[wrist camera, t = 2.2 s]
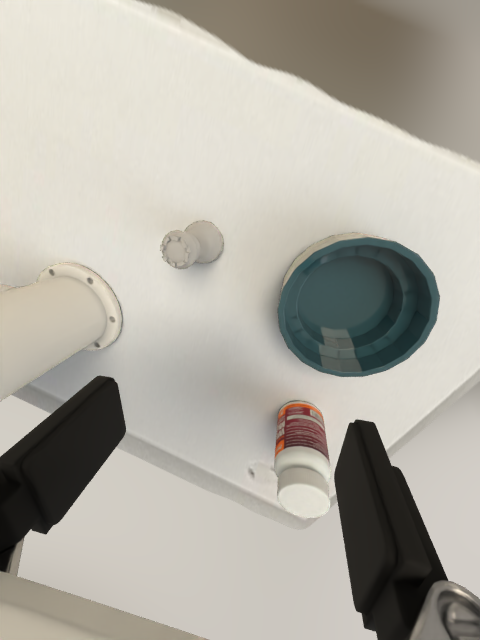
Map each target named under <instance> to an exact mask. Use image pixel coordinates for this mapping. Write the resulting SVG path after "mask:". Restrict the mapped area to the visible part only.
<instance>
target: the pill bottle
mask: <svg viewBox="0 0 480 640" xmlns="http://www.w3.org/2000/svg"><path fill="white" fill-rule="evenodd" d="M274 468H275V472H276V475H277V477H278V492H277V497H278V501H279V503H280V505H281V506H282V507H283V508H284V509H285V510H286V511H288V512H289V513H291V514H294V515H296V516H300V517H305V518H314V517H319V516H322V515H324V514H325V513H326V512H327V511H328V510H329V508H330V496H329V486H328V482H329V480H330V477H331V468H330V462H329V455H328V448H327V441H326V434H325V427H324V420H323V416H322V414H321V412H320V410H319V409H318V408H317V407H315V406H314V405H312V404H310V403H307V402H303V401H294V402H289V403H287V404H285V405H284V406H283V407H282V408H281V409H280V411H279V414H278V421H277V435H276V448H275V462H274Z"/></svg>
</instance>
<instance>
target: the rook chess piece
mask: <svg viewBox="0 0 480 640" xmlns="http://www.w3.org/2000/svg"><path fill="white" fill-rule="evenodd" d="M223 244H224V243H223V237H222V234H221V232H220V231H219V229H218V228H217V227H216V226H215V225H214V224H212V223H211V222H207V221H204V220H203V221H197V222H194V223H192V224H191V225H189V226H188V227H187V228H186V230H185V231H184V232H183V231H179V230H176V231H171V232H169V233H168V234H167V235H165V237H164V239H163V241H162V245H160V251H162V253H163V256H162V258H163V260H164V261H165V262H166V261H167V263H168V264H170V266H172V267H174V268H177V269H187V268H188V267H190V266H191V265H192V264H193V263H194V261H195V262H198V263H209V262H212V261H214V260H215V259H217V258H218V257H219V255H220V254H221V252H222V249H223Z"/></svg>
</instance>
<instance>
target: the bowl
mask: <svg viewBox="0 0 480 640" xmlns="http://www.w3.org/2000/svg"><path fill="white" fill-rule="evenodd" d="M439 301H440V295H439V291H438V288H437V284H436V280H435V276H434V274H433V272H432V271H431V270H430V268H429V267H428V266H427V265H426V263H425V262H424V261H423V260H422V258H421V257H420V256H419V255H418V254H417V253H415V252H413V251H411V250H410V249H408V248H406V247H404V246H403V245H401V244H399V243H397V242H395V241H392V240H388V239H385V238H381V237H378V236H373V235H367V234H361V233H347V234H339V235H332V236H330V237H328V238H326V239H323V240H321V241H319V242H317V243H315V244H313V245H311V246H310V247H308V248H307V249H306V250H305V251H304V252H303V253H302V254H301V255H299V256H298V257H297V258H296V259H295V260H294V262H293V263H292V265H291V267H290V268H289V270H288V272H287V273H286V275H285V277H284V280H283V285H282V289H281V293H280V299H279V304H278V319H279V329H280V332H281V334H282V336H283V338H284V340H285V342H286V344H287V346H288V348H289V349H290V350H291V351H292V352H293V353H294V354H295V355H296V356H297V357H298V358H299V359H300V360H301V361H302V362H303V363H305V364H307V365H309V366H310V367H312V368H314V369H316V370H318V371H320V372H323V373H327V374H331V375H335V376H340V377H363V376H368V375H372V374H375V373H379V372H383V371H386V370H388V369H390V368H392V367H394V366H396V365H398V364H399V363H401V362H403V361H405V360H407V359H408V358H409V357H410V356H411V355H412V354H413V353H414V352H415V351H416V350H417V349H418V348H420V347H421V346H422V345H423V344H424V343H425V341H426V340H427V338H428V336H429V334H430V332H431V330H432V328H433V327H434V325H435V323H436V321H437V315H438V308H439Z"/></svg>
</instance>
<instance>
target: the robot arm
mask: <svg viewBox="0 0 480 640" xmlns="http://www.w3.org/2000/svg"><path fill="white" fill-rule="evenodd" d="M121 325H122V315H121V310H120V306H119V304H118V301H117V299H116V297H115V295H114V293H113V291H112V290H111V289H110V287H109V286H108V285H107V283H106V282H105V281H104V280H103V279H102V278H101V277H100V276H98V275H97V274H96V273H94V272H93V271H91V270H90V269H88V268H86V267H84V266H81V265H78V264H74V263H59V264H56V265H52V266H49V267H48V268H46V269H44V270H43V271H42V272H41V274H40V275H39V277H38V279H37V282H36V283H34V284H30V285H26V286H23V287H19V288H16V287H11V286H7V285H0V401H2V400H3V399H5V398H6V397H8V396H10V395H11V394H13V393H14V392H16V391H17V390H19V389H21V388H22V387H24V386H25V385H27V384H28V383H30V382H31V381H33V380H35V379H36V378H38V377H39V376H41V375H42V374H44V373H46V372H47V371H49V370H50V369H52V368H53V367H55V366H56V365H58V364H60V363H61V362H63V361H64V360H66V359H67V358H69V357H70V356H72V355H74V354H75V353H77V352H78V351H80V350H81V349H83V350H88V351H93V350H100V349H103V348H105V347H107V346H108V345H110V344H111V343H112V342H114V340H115V339H116V338H117V337H118V335H119V333H120V330H121ZM125 432H126V426H125V420H124V415H123V410H122V405H121V399H120V394H119V389H118V384H117V382H115V380H114V379H113V378H111V377H105V376H97V377H95V378H94V379H93V380H92V381H91V382H89V383H88V384H87V385H86V386H85V387H83V388H82V389H81V390H80V391H79V392H77V393H76V394H75V395H74V396H73V397H71V398H70V399H69V400H68V401H67V402H65V403H64V404H63V405H62V406H61V407H59V408H58V409H57V410H56V411H55V412H53V413H52V414H51V415H50V416H49V417H47V418H46V419H45V420H44V421H43V422H41V423H40V424H39V425H38V426H37V427H35V428H34V429H33V430H32V431H31V432H30V433H29V434H27V435H26V436H25V437H24V438H22V439H21V440H20V441H19V442H18V443H16V444H15V445H14V446H13V447H12V448H10V449H9V450H8V451H7V452H6V453H4V454H3V455H2V456H1V457H0V640H208V639H205V638H202V637H199V636H196V635H193V634H190V633H187V632H185V631H182V630H178V629H175V628H173V627H169V626H167V625H164V624H160V623H157V622H155V621H151V620H149V619H145V618H142V617H139V616H136V615H133V614H130V613H127V612H124V611H121V610H118V609H115V608H112V607H109V606H106V605H103V604H100V603H97V602H94V601H91V600H88V599H85V598H82V597H79V596H76V595H73V594H70V593H67V592H64V591H60V590H57V589H54V588H51V587H48V586H45V585H42V584H39V583H36V582H33V581H30V580H26V579H24V578H21V577H17V573H18V568H19V562H20V557H21V552H22V546H23V541H24V536H25V535H26V534H27V533H28V532H29V530H30V529H32V531H36V532H39V533H43V534H47V533H48V531H49V530H50V529H51V527H52V526H53V525H55V524H57V523H58V522H59V521H60V520H61V519H62V518H63V517H64V515H65V514H66V513H67V511H68V510H69V509H70V507H71V506H72V505H73V503H74V502H75V501H76V499H77V498H78V497H79V495H80V494H81V493H82V491H83V490H84V489H85V487H86V486H87V485H88V484H89V482H90V481H91V480H92V478H93V477H94V476H95V474H96V473H97V471H98V470H99V469H100V467H101V466H102V465H103V463H104V462H105V461H106V460H107V458H108V457H109V456H110V454H111V453H112V452H113V450H114V449H115V448H116V446H117V445H118V444H119V442H120V441H121V440H122V438H123V437H124V435H125ZM334 480H335V487H336V494H337V500H338V506H339V513H340V519H341V525H342V532H343V538H344V543H345V551H346V557H347V563H348V569H349V576H350V582H351V588H352V595H353V601H354V605H355V609H356V611H357V612H360V613H362V617H363V623H364V628H365V629H369V630H372V631H376V633H377V638H378V640H480V599H479V598H478V597H477V596H475V595H474V594H473V593H471V592H470V591H469V590H467V589H466V588H464V587H463V586H460V585H458V584H456V583H454V582H451V581H448V579H447V576H446V574H445V572H444V569H443V567H442V564H441V562H440V560H439V557H438V555H437V553H436V550H435V548H434V546H433V543H432V541H431V539H430V536H429V534H428V532H427V529H426V527H425V525H424V522H423V520H422V517H421V515H420V513H419V510H418V508H417V506H416V503H415V501H414V499H413V496H412V494H411V492H410V489H409V487H408V485H407V482H406V480H405V478H404V476H403V474H402V472H401V470H400V469H399V468H397V467H394V466H391V463H390V461H389V458H388V456H387V453H386V451H385V448H384V445H383V443H382V440H381V438H380V435H379V433H378V430H377V428H376V425H375V423H373V422H369V421H363V420H355V422H354V423H349V426H348V429H347V432H346V436H345V439H344V442H343V446H342V449H341V452H340V456H339V459H338V462H337V466H336V469H335V474H334Z"/></svg>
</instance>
